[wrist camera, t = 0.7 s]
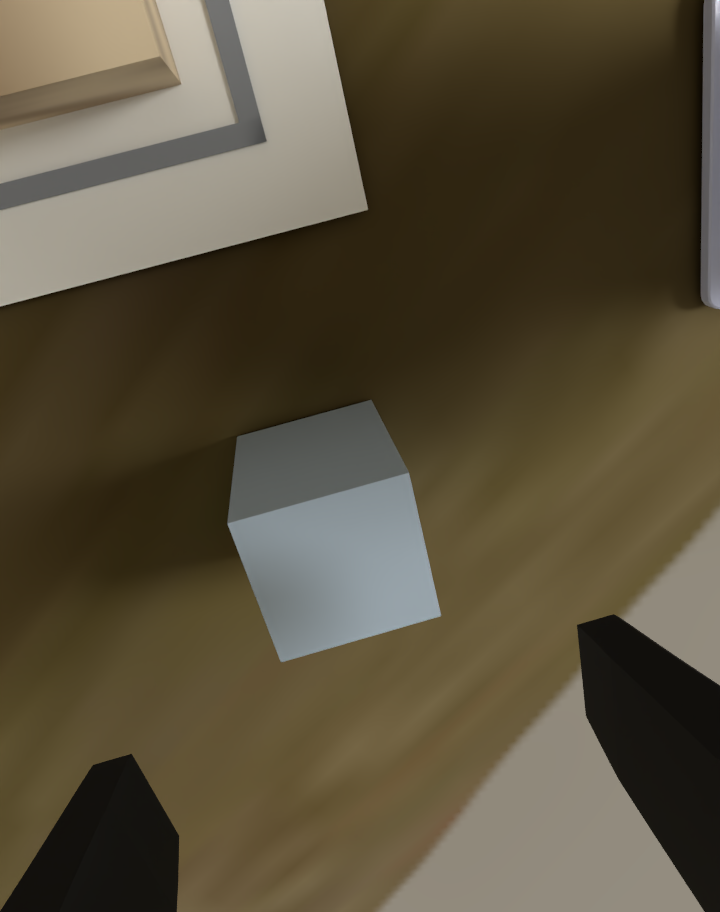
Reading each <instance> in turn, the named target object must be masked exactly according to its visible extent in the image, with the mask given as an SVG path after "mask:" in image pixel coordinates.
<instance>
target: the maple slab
mask: <svg viewBox="0 0 720 912" xmlns="http://www.w3.org/2000/svg"><path fill="white" fill-rule="evenodd" d="M177 85H181V81H180V78H179V74H178V71H177V68H176V65H175V61H174V58H173V55H172V52H171V49H170V45H169V42H168V39H167V36H166V32H165V29H164V26H163V23H162V20H161V16H160V13H159V10H158V7H157V3H156V0H0V130H2V129H6V128H10V127H14V126H18V125H22V124H26V123H30V122H34V121H38V120H42V119H46V118H50V117H54V116H58V115H62V114H66V113H70V112H74V111H78V110H82V109H86V108H90V107H94V106H98V105H102V104H105V103H109V102H113V101H117V100H121V99H125V98H129V97H133V96H137V95H141V94H145V93H149V92H153V91H157V90H161V89H165V88H169V87H173V86H177Z"/></svg>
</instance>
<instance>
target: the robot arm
mask: <svg viewBox="0 0 720 912" xmlns="http://www.w3.org/2000/svg"><path fill="white" fill-rule="evenodd" d="M701 299H702V301H703V303H704V304H705V305H706V306H709V307H712V308H716V309H720V0H704V12H703V111H702V210H701ZM577 629H578V639H579V649H580V659H581V669H582V679H583V689H584V700H585V710H586V716H587V719H588V720H589V723H590V724H591V726H592V729H593V730H594V732H595V734H596V736H597V738H598V740H599V742H600V744H601V746H602V748H603V750H604V752H605V754H606V756H607V758H608V760H609V762H610V763H611V766H612V767H613V769H614V771H615V773H616V775H617V777H618V779H619V780H620V782H621V784H622V785H623V787H624V788H625V790H626V791H627V793H628V795H629V796H630V798H631V799H632V801H633V802H634V804H635V806H636V807H637V809H638V810H639V812H640V813H641V815H642V816H643V818H644V819H645V821H646V823H647V824H648V826H649V827H650V829H651V830H652V832H653V833H654V835H655V836H656V838H657V839H658V841H659V842H660V844H661V845H662V847H663V849H664V850H665V852H666V853H667V855H668V856H669V858H670V859H671V861H672V862H673V864H674V865H675V867H676V869H677V870H678V872H679V873H680V875H681V876H682V878H683V879H684V881H685V882H686V884H687V885H688V887H689V888H690V890H691V891H692V893H693V894H694V896H695V897H696V899H697V900H698V902H699V904H700V905H701V907H702V908H703V910H704V911H705V912H720V685H718V684H717V683H715V682H714V681H712V680H711V679H709V678H708V677H706V676H705V675H703V674H702V673H700V672H698V671H697V670H696V669H694V668H693V667H691V666H690V665H688V664H687V663H685V662H684V661H682V660H681V659H679V658H678V657H676V656H675V655H673V654H672V653H670V652H669V651H667V650H666V649H664V648H663V647H661V646H660V645H659V644H657V643H656V642H654V641H653V640H651V639H650V638H649V637H647V636H646V635H644V634H643V633H641V632H640V631H638V630H637V629H635V628H634V627H633V626H631V625H630V624H628V623H627V622H625V621H624V620H622V619H621V618H619V617H618V616H616V615H614V614H613V615H610V616H606V617H603V618H599V619H596V620H593V621H589V622H586V623H582V624H579V625H577ZM178 862H179V835H178V833H177V832H176V830H175V828H174V826H173V825H172V823H171V821H170V819H169V818H168V816H167V814H166V812H165V811H164V809H163V807H162V806H161V804H160V802H159V800H158V799H157V797H156V795H155V793H154V792H153V790H152V788H151V787H150V785H149V783H148V781H147V780H146V778H145V776H144V774H143V773H142V771H141V769H140V768H139V766H138V764H137V762H136V761H135V759H134V757H133V755H132V754H130V755H126V756H123V757H119V758H116V759H112V760H109V761H105V762H102V763H99V764H95V765H93V766H92V768H91V769H90V771H89V772H88V774H87V775H86V777H85V778H84V780H83V781H82V783H81V785H80V786H79V788H78V789H77V791H76V792H75V794H74V796H73V797H72V799H71V800H70V802H69V804H68V805H67V807H66V808H65V810H64V812H63V813H62V815H61V816H60V818H59V820H58V821H57V823H56V824H55V826H54V828H53V829H52V831H51V832H50V834H49V836H48V837H47V839H46V840H45V842H44V844H43V845H42V847H41V848H40V850H39V851H38V853H37V855H36V856H35V858H34V859H33V861H32V863H31V864H30V866H29V867H28V869H27V871H26V872H25V874H24V875H23V877H22V878H21V880H20V881H19V883H18V885H17V886H16V888H15V889H14V891H13V892H12V894H11V895H10V897H9V899H8V900H7V902H6V903H5V905H4V906H3V908H2V909H1V911H0V912H177V892H178Z"/></svg>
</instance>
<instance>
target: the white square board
mask: <svg viewBox="0 0 720 912" xmlns="http://www.w3.org/2000/svg"><path fill="white" fill-rule="evenodd" d="M156 3H157V7H158V10H159V13H160V16H161V20H162V23H163V26H164V29H165V32H166V36H167V39H168V42H169V45H170V49H171V52H172V55H173V58H174V61H175V65H176V68H177V71H178V74H179V78H180V81H181V85H177V86H173V87H169V88H165V89H161V90H157V91H153V92H149V93H145V94H141V95H137V96H133V97H129V98H125V99H121V100H117V101H113V102H109V103H105V104H102V105H98V106H94V107H90V108H86V109H82V110H78V111H74V112H70V113H66V114H62V115H58V116H54V117H50V118H46V119H42V120H38V121H34V122H30V123H26V124H22V125H18V126H14V127H10V128H6V129H2V130H0V306H4V305H8V304H12V303H15V302H19V301H23V300H27V299H31V298H35V297H38V296H42V295H46V294H50V293H54V292H57V291H61V290H65V289H69V288H73V287H76V286H80V285H84V284H88V283H92V282H95V281H99V280H103V279H107V278H111V277H114V276H118V275H122V274H126V273H130V272H133V271H137V270H141V269H145V268H149V267H152V266H156V265H160V264H164V263H168V262H171V261H175V260H179V259H183V258H187V257H190V256H194V255H198V254H202V253H206V252H210V251H213V250H217V249H221V248H225V247H229V246H232V245H236V244H240V243H244V242H248V241H251V240H255V239H259V238H263V237H267V236H270V235H274V234H278V233H282V232H286V231H289V230H293V229H297V228H301V227H305V226H308V225H312V224H316V223H320V222H324V221H327V220H331V219H335V218H339V217H343V216H346V215H350V214H354V213H358V212H362V211H365V210H368V207H367V202H366V197H365V193H364V188H363V183H362V179H361V174H360V169H359V164H358V160H357V155H356V150H355V146H354V141H353V136H352V131H351V127H350V122H349V117H348V113H347V108H346V103H345V98H344V94H343V89H342V84H341V80H340V75H339V70H338V65H337V61H336V56H335V51H334V47H333V42H332V37H331V32H330V28H329V23H328V18H327V14H326V9H325V4H324V0H156Z"/></svg>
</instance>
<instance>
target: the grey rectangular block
mask: <svg viewBox="0 0 720 912" xmlns="http://www.w3.org/2000/svg"><path fill="white" fill-rule="evenodd" d="M227 524H228V527H229V529H230V532H231V534H232V537H233V540H234V542H235V545H236V547H237V550H238V552H239V555H240V558H241V560H242V563H243V565H244V568H245V571H246V573H247V576H248V578H249V581H250V583H251V586H252V589H253V591H254V594H255V596H256V599H257V602H258V604H259V607H260V609H261V612H262V614H263V617H264V620H265V622H266V625H267V627H268V630H269V633H270V635H271V638H272V640H273V643H274V645H275V648H276V651H277V653H278V656H279V658H280V661H281V662H284V661H287V660H291V659H294V658H298V657H301V656H305V655H308V654H311V653H315V652H318V651H322V650H325V649H329V648H332V647H336V646H339V645H343V644H346V643H349V642H353V641H356V640H360V639H363V638H367V637H370V636H374V635H377V634H381V633H384V632H388V631H391V630H394V629H398V628H401V627H405V626H408V625H412V624H415V623H419V622H422V621H426V620H429V619H432V618H436V617H439V616H441V614H440V609H439V605H438V600H437V596H436V591H435V587H434V582H433V578H432V573H431V569H430V564H429V560H428V556H427V551H426V547H425V542H424V538H423V533H422V529H421V524H420V520H419V515H418V511H417V506H416V502H415V498H414V493H413V489H412V484H411V480H410V475H409V472H408V470H407V468H406V466H405V464H404V462H403V460H402V458H401V456H400V454H399V453H398V451H397V449H396V447H395V445H394V443H393V441H392V439H391V437H390V435H389V433H388V431H387V429H386V427H385V425H384V423H383V422H382V420H381V418H380V416H379V414H378V412H377V410H376V408H375V406H374V404H373V402H372V400H369V401H365V402H361V403H358V404H354V405H350V406H347V407H343V408H340V409H336V410H332V411H329V412H325V413H321V414H318V415H314V416H310V417H307V418H303V419H299V420H296V421H292V422H289V423H285V424H281V425H278V426H274V427H270V428H267V429H263V430H259V431H256V432H252V433H249V434H245V435H241V436H238V437H237V443H236V451H235V460H234V469H233V478H232V487H231V495H230V504H229V513H228V522H227Z"/></svg>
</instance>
